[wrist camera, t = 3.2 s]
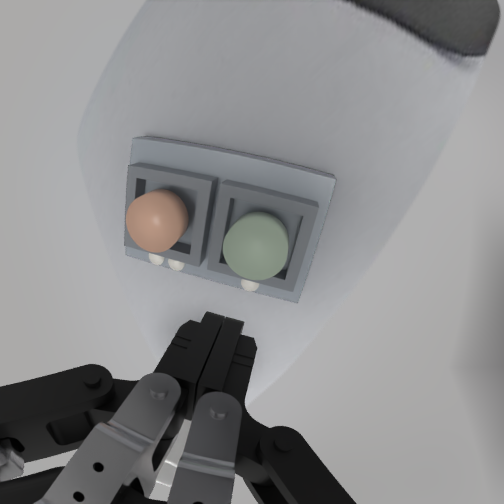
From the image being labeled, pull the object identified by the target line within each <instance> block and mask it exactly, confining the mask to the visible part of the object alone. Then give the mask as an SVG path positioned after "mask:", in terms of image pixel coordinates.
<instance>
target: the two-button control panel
mask: <svg viewBox="0 0 504 504" xmlns="http://www.w3.org/2000/svg"><path fill="white" fill-rule="evenodd" d="M335 183H336V178H335V177H334V175H331V174H328V173H324V172H321V171H317V170H313V169H310V168H306V167H302V166H298V165H294V164H290V163H286V162H282V161H278V160H274V159H270V158H265V157H261V156H256V155H252V154H247V153H243V152H238V151H233V150H228V149H223V148H217V147H212V146H207V145H201V144H195V143H189V142H183V141H177V140H170V139H163V138H156V137H148V136H143V137H136V138H133V139H132V148H131V157H130V165H128V175H127V188H126V205H125V236H124V246H126V255H127V256H130V257H133V258H136V259H140V260H143V261H146V262H149V263H153V264H155V265H159V266H163V267H166V268H170V269H173V270H175V271H180V272H183V273H187V274H190V275H194V276H197V277H201V278H204V279H208V280H211V281H215V282H218V283H222V284H226V285H229V286H233V287H237V288H240V289H244V290H247V291H252V292H255V293H259V294H263V295H267V296H271V297H274V298H278V299H282V300H286V301H290V302H294V303H298V301H299V298H300V295H301V292H302V289H303V286H304V283H305V280H306V277H307V274H308V271H309V268H310V265H311V262H312V259H313V256H314V253H315V250H316V247H317V244H318V240H319V237H320V234H321V231H322V227H323V224H324V221H325V217H326V214H327V211H328V207H329V204H330V201H331V197H332V194H333V190H334V187H335ZM155 189H166V190H169V191H172V192H173V193H175V194H176V195H178V196H179V197H180V198H181V200H182V201H183V202H184V204H185V206H186V208H187V211H188V217H189V222H188V227H187V230H186V232H185V233H184V235H183V236H182V237H181V238H180V239H179V240H178V241H177V242H176V243H175V244H174V245H173V246H172V247H171V248H169V249H168V250H166V251H163V252H159V253H155V252H149V251H146V250H144V249H143V248H141V247H140V246H138V245H137V244H136V243H135V242H134V240H133V239H132V238H131V236H130V234H129V232H128V229H127V225H126V214H127V210H128V208H129V206H130V204H131V203H132V202H133V201H134V200H135V199H136V198H138V197H140V196H142V195H144V194H146V193H148V192H150V191H152V190H155ZM250 212H265V213H269V214H271V215H273V216H275V217H276V218H278V219H279V220H280V221H281V222H282V223H283V225H284V226H285V228H286V230H287V232H288V236H289V248H288V255H287V260H286V263H285V265H284V267H283V268H282V269H281V270H280V271H279V272H278V273H277V274H276V275H274V276H273V277H271V278H268V279H265V280H250V279H247V278H244V277H242V276H240V275H238V274H237V273H235V272H234V271H233V270H232V269H231V268H230V267H229V266H228V264H227V262H226V260H225V258H224V254H223V242H224V239H225V236H226V234H227V233H228V231H229V230H230V228H231V227H232V226H233V224H234V223H235V222H236V220H237V219H239V218H240V217H241V216H243V215H245V214H247V213H250Z"/></svg>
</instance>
